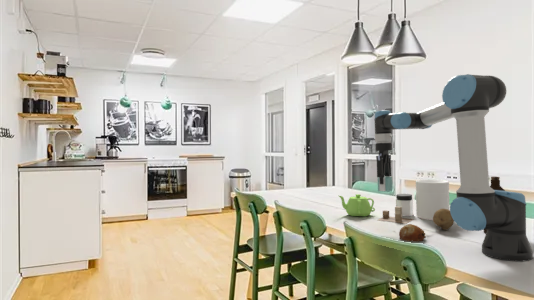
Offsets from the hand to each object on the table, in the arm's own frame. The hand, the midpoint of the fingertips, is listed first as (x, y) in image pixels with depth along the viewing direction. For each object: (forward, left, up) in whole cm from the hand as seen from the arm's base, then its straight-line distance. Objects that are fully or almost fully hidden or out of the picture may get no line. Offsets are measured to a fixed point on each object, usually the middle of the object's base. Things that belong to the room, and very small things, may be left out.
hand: (384, 190), depth 168 cm
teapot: (+15, +22, -19) cm, 33 cm away
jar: (+29, 0, -18) cm, 34 cm away
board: (+14, 0, -18) cm, 23 cm away
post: (+13, -2, -17) cm, 22 cm away
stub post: (+17, +6, -17) cm, 25 cm away
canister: (+31, -14, -18) cm, 39 cm away
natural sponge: (+9, -24, -18) cm, 32 cm away
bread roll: (-13, -16, -19) cm, 28 cm away
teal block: (0, 0, 0) cm, 0 cm away
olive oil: (+14, -44, -18) cm, 50 cm away
